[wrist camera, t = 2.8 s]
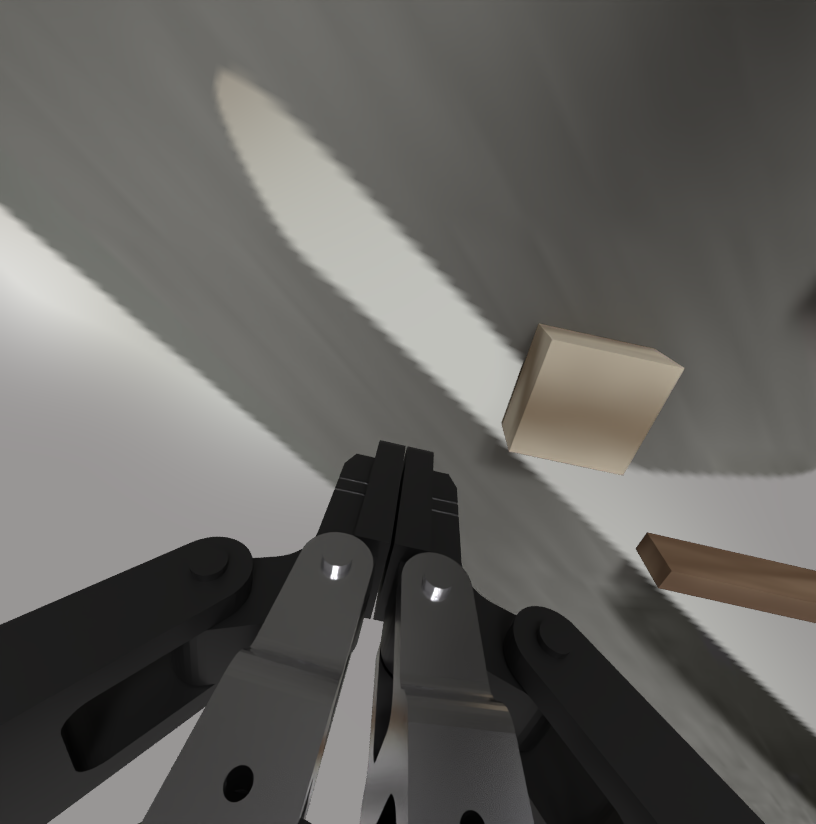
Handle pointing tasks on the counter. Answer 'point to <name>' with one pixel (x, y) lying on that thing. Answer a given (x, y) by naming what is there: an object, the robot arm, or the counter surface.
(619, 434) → the maple tile
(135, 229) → the counter surface
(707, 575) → the wooden u-shaped bracket
